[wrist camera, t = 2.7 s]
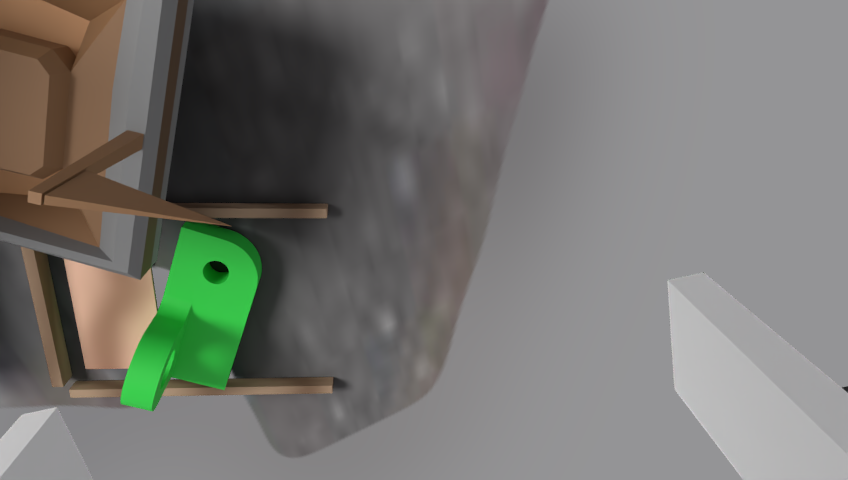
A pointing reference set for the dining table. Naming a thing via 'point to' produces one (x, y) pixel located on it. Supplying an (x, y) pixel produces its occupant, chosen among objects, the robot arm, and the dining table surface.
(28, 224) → the sailing ship
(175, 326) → the mechanical part
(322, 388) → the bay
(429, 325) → the dining table surface
